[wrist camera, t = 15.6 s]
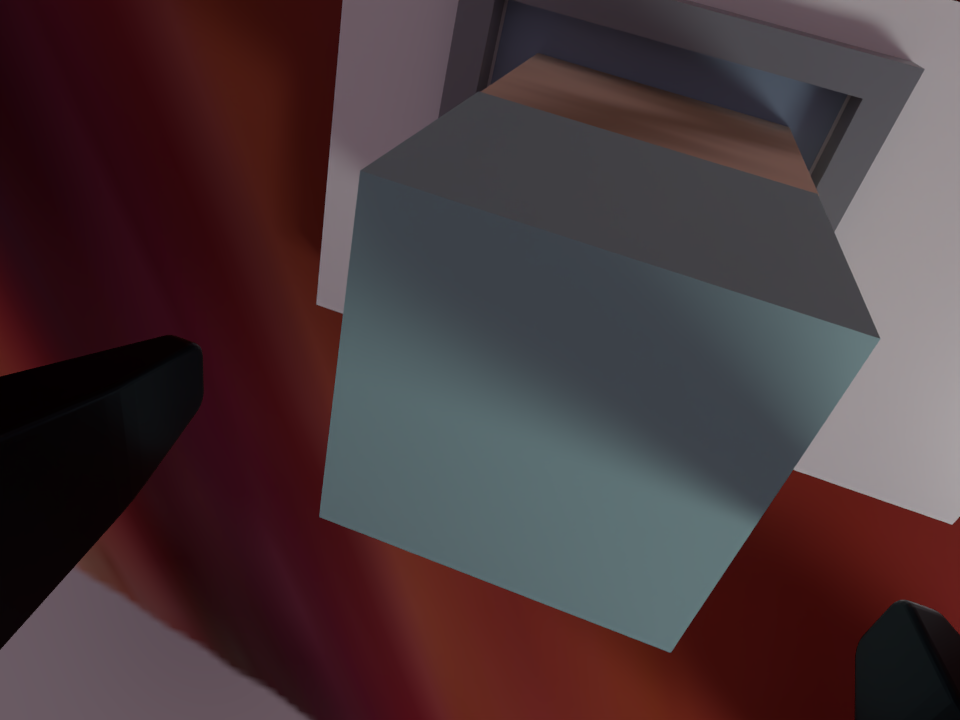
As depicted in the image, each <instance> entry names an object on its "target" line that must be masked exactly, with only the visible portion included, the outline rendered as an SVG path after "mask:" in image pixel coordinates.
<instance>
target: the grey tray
mask: <svg viewBox="0 0 960 720" xmlns="http://www.w3.org/2000/svg"><path fill="white" fill-rule="evenodd" d="M537 53H540V54H543V55H547V56H550V57H553V58H557V59H560V60H564V61H567V62H570V63H574V64H577V65H580V66H584V67H587V68H591V69H594V70H597V71H601V72H604V73H608V74H611V75H614V76H618V77H621V78H625V79H628V80H631V81H635V82H638V83H641V84H645V85H648V86H652V87H655V88H658V89H662V90H665V91H669V92H672V93H675V94H679V95H682V96H686V97H689V98H692V99H696V100H699V101H702V102H706V103H709V104H713V105H716V106H719V107H723V108H726V109H730V110H733V111H736V112H740V113H743V114H746V115H750V116H753V117H757V118H760V119H763V120H767V121H770V122H774V123H777V124H780V125H784V126H787V127H789V128H790V130H791V132H792V135H793V137H794V139H795V141H796V144H797V146H798V148H799V151H800V153H801V155H802V157H803V160H804V162H805V164H806V167H807V169H808V171H809V173H810V176H811V178H812V180H813V183H814V185H815V187H816V189H817V192H818V194H819V198H820V200H821V203H822V205H823V207H824V210H825V212H826V214H827V217H828V219H829V221H830V223H831V226H832V228H833V230H834V233H835V235H836V237H837V240H838V242H839V244H840V247H841V249H842V251H843V253H844V256H845V258H846V260H847V263H848V265H849V267H850V270H851V272H852V274H853V276H854V279H855V281H856V283H857V286H858V288H859V290H860V293H861V295H862V297H863V300H864V302H865V304H866V306H867V309H868V311H869V313H870V316H871V318H872V320H873V323H874V325H875V327H876V329H877V332H878V334H879V336H880V340H879V342H878V343H877V345H876V346H875V348H874V349H873V351H872V352H871V354H870V355H869V357H868V358H867V360H866V361H865V363H864V364H863V366H862V367H861V369H860V370H859V372H858V373H857V375H856V376H855V378H854V379H853V381H852V382H851V384H850V385H849V387H848V388H847V390H846V391H845V393H844V394H843V396H842V397H841V399H840V400H839V402H838V403H837V405H836V406H835V408H834V409H833V411H832V412H831V414H830V415H829V417H828V418H827V420H826V421H825V423H824V424H823V426H822V427H821V429H820V430H819V432H818V433H817V435H816V436H815V438H814V439H813V441H812V442H811V444H810V445H809V447H808V448H807V450H806V451H805V453H804V454H803V456H802V457H801V459H800V460H799V462H798V463H797V465H796V466H795V468H794V469H793V470H796V471H799V472H802V473H804V474H807V475H810V476H813V477H816V478H819V479H822V480H825V481H828V482H830V483H833V484H836V485H839V486H842V487H845V488H848V489H851V490H854V491H856V492H859V493H862V494H865V495H868V496H871V497H874V498H877V499H880V500H882V501H885V502H888V503H891V504H894V505H897V506H900V507H903V508H906V509H908V510H911V511H914V512H917V513H920V514H923V515H926V516H929V517H932V518H934V519H937V520H940V521H943V522H946V523H949V524H953V523H954V522H955V521H956V520H957V519H958V518H959V517H960V2H958V1H954V0H343V3H342V14H341V26H340V38H339V49H338V61H337V72H336V84H335V95H334V107H333V118H332V130H331V141H330V153H329V164H328V176H327V187H326V199H325V211H324V222H323V234H322V245H321V257H320V268H319V280H318V291H317V303H316V305H319V306H322V307H325V308H328V309H331V310H334V311H337V312H340V313H342V314H343V311H344V303H345V294H346V286H347V277H348V269H349V260H350V252H351V243H352V235H353V226H354V218H355V209H356V201H357V193H358V184H359V176H360V170H362V169H363V168H365V167H366V166H368V165H369V164H371V163H372V162H374V161H375V160H377V159H378V158H380V157H381V156H383V155H384V154H386V153H387V152H389V151H390V150H392V149H393V148H395V147H396V146H398V145H399V144H401V143H402V142H404V141H405V140H407V139H408V138H410V137H411V136H413V135H414V134H416V133H417V132H419V131H420V130H422V129H423V128H425V127H426V126H428V125H429V124H431V123H432V122H434V121H435V120H437V119H438V118H440V117H441V116H443V115H444V114H446V113H447V112H449V111H450V110H452V109H453V108H455V107H456V106H458V105H459V104H461V103H462V102H464V101H465V100H466V99H468V98H469V97H471V96H472V95H474V94H475V93H477V92H478V91H479V92H481V91H482V90H484V89H485V88H487V87H488V86H490V85H491V84H493V83H494V82H496V81H497V80H499V79H500V78H502V77H503V76H505V75H506V74H508V73H509V72H511V71H512V70H514V69H515V68H517V67H518V66H519V65H521V64H522V63H524V62H525V61H527V60H528V59H530V58H531V57H533V56H534V55H536V54H537Z"/></svg>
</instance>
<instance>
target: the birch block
mask: <svg viewBox="0 0 960 720" xmlns="http://www.w3.org/2000/svg"><path fill="white" fill-rule="evenodd" d="M481 92H483V93H486V94H489V95H493V96H496V97H499V98H502V99H506V100H509V101H512V102H516V103H519V104H522V105H526V106H529V107H532V108H535V109H539V110H542V111H545V112H549V113H552V114H555V115H559V116H562V117H565V118H568V119H572V120H575V121H578V122H582V123H585V124H588V125H592V126H595V127H598V128H601V129H605V130H608V131H611V132H615V133H618V134H621V135H625V136H628V137H631V138H635V139H638V140H641V141H644V142H648V143H651V144H654V145H658V146H661V147H664V148H668V149H671V150H674V151H677V152H681V153H684V154H687V155H691V156H694V157H697V158H701V159H704V160H707V161H710V162H714V163H717V164H720V165H724V166H727V167H730V168H734V169H737V170H740V171H743V172H747V173H750V174H753V175H757V176H760V177H763V178H767V179H770V180H773V181H776V182H780V183H783V184H786V185H790V186H793V187H796V188H800V189H803V190H806V191H809V192H813V193H816V194H818V192H817V189H816V187H815V185H814V183H813V180H812V178H811V176H810V173H809V171H808V169H807V167H806V164H805V162H804V160H803V157H802V155H801V153H800V151H799V148H798V146H797V144H796V141H795V139H794V137H793V135H792V132H791V130H790V128H789V127H787V126H784V125H780V124H777V123H774V122H770V121H767V120H763V119H760V118H757V117H753V116H750V115H746V114H743V113H740V112H736V111H733V110H730V109H726V108H723V107H719V106H716V105H713V104H709V103H706V102H702V101H699V100H696V99H692V98H689V97H686V96H682V95H679V94H675V93H672V92H669V91H665V90H662V89H658V88H655V87H652V86H648V85H645V84H641V83H638V82H635V81H631V80H628V79H625V78H621V77H618V76H614V75H611V74H608V73H604V72H601V71H597V70H594V69H591V68H587V67H584V66H580V65H577V64H574V63H570V62H567V61H564V60H560V59H557V58H553V57H550V56H547V55H543V54H540V53H537V54H536V55H534V56H533V57H531V58H530V59H528V60H527V61H525V62H524V63H522V64H521V65H519V66H518V67H517V68H515V69H514V70H512V71H511V72H509V73H508V74H506V75H505V76H503V77H502V78H500V79H499V80H497V81H496V82H494V83H493V84H491V85H490V86H488V87H487V88H485V89H484V90H482V91H481ZM818 196H819V194H818Z"/></svg>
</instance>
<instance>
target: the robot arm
mask: <svg viewBox="0 0 960 720" xmlns="http://www.w3.org/2000/svg"><path fill="white" fill-rule="evenodd" d="M203 394H204V384H203V354H202V350H201V348H200V346H199V345H197V344H196V343H194V342H191V341H188V340H186V339H183V338H180V337H177V336H173V335H166V336H161V337H157V338H153V339H149V340H145V341H141V342H137V343H133V344H129V345H125V346H121V347H117V348H113V349H109V350H105V351H101V352H97V353H93V354H89V355H85V356H81V357H77V358H73V359H69V360H65V361H61V362H57V363H53V364H49V365H45V366H41V367H37V368H33V369H29V370H25V371H21V372H17V373H13V374H9V375H5V376H1V377H0V649H1V648H2V647H3V646H4V645H5V644H6V643H7V641H8V640H9V639H10V638H11V637H12V636H13V635H14V633H16V631H17V630H18V629H19V628H20V627H21V626H22V625H23V624H24V622H25V621H26V620H27V619H28V618H29V617H30V615H32V613H33V612H34V611H35V610H36V609H37V608H38V607H39V606H40V604H41V603H42V602H43V601H44V600H45V599H46V598H47V596H49V594H50V593H51V592H52V591H53V590H54V589H55V588H56V587H57V585H58V584H59V583H60V582H61V581H62V580H63V579H64V578H65V576H66V575H67V574H68V573H69V572H70V571H71V570H72V569H73V568H74V566H75V565H76V564H77V563H78V562H79V561H80V560H81V559H82V557H83V556H84V555H85V554H86V553H87V552H88V551H89V550H90V548H91V547H92V546H93V545H94V544H95V543H96V542H97V541H98V540H99V538H100V537H101V536H102V535H103V534H104V533H105V532H106V531H107V529H108V528H109V527H110V526H111V525H112V524H113V523H114V522H115V520H116V519H117V518H118V517H119V516H120V515H121V514H122V512H123V511H124V510H125V509H126V508H127V507H128V505H129V504H130V503H131V502H132V501H133V499H134V498H135V497H136V496H137V494H138V493H139V492H140V490H141V489H142V488H143V486H144V485H145V484H146V482H147V481H148V479H149V478H150V477H151V475H152V474H153V472H154V471H155V470H156V468H157V467H158V465H159V464H160V463H161V461H162V460H163V459H164V457H165V456H166V454H167V453H168V452H169V450H170V449H171V447H172V446H173V445H174V443H175V442H176V440H177V439H178V438H179V436H180V435H181V433H182V432H183V431H184V429H185V428H186V426H187V425H188V424H189V422H190V421H191V419H192V418H193V417H194V415H195V414H196V412H197V411H198V409H199V407H200V405H201V403H202V400H203ZM855 720H960V635H959V634H958V633H957V631H956V630H955V629H954V628H953V627H952V626H951V624H950V623H949V622H948V621H947V620H946V619H945V618H944V616H943V615H941V614H940V613H939V612H937V611H935V610H933V609H930V608H928V607H925V606H922V605H919V604H916V603H914V602H911V601H908V600H899V601H897V602H894V603H893V604H892V605H891V606H890V607H889V608H888V609H887V610H886V611H885V612H884V614H883V615H882V616H881V617H880V618H879V619H878V620H877V621H876V622H875V623H874V624H873V625H872V626H871V628H870V629H869V630H868V631H867V632H866V633H865V634H864V635H863V636H862V638H861V639H860V641H859V643H858V646H857V650H856V655H855Z"/></svg>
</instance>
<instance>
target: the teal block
mask: <svg viewBox="0 0 960 720" xmlns="http://www.w3.org/2000/svg"><path fill="white" fill-rule="evenodd" d="M879 340H880V336H879V334H878V332H877V329H876V327H875V325H874V323H873V320H872V318H871V316H870V313H869V311H868V309H867V306H866V304H865V302H864V300H863V297H862V295H861V293H860V290H859V288H858V286H857V283H856V281H855V279H854V276H853V274H852V272H851V270H850V267H849V265H848V263H847V260H846V258H845V256H844V253H843V251H842V249H841V247H840V244H839V242H838V240H837V237H836V235H835V233H834V230H833V228H832V226H831V223H830V221H829V219H828V217H827V214H826V212H825V210H824V207H823V205H822V203H821V200H820V198H819V196H818V194H816V193H813V192H809V191H806V190H803V189H800V188H796V187H793V186H790V185H786V184H783V183H780V182H776V181H773V180H770V179H767V178H763V177H760V176H757V175H753V174H750V173H747V172H743V171H740V170H737V169H734V168H730V167H727V166H724V165H720V164H717V163H714V162H710V161H707V160H704V159H701V158H697V157H694V156H691V155H687V154H684V153H681V152H677V151H674V150H671V149H668V148H664V147H661V146H658V145H654V144H651V143H648V142H644V141H641V140H638V139H635V138H631V137H628V136H625V135H621V134H618V133H615V132H611V131H608V130H605V129H601V128H598V127H595V126H592V125H588V124H585V123H582V122H578V121H575V120H572V119H568V118H565V117H562V116H559V115H555V114H552V113H549V112H545V111H542V110H539V109H535V108H532V107H529V106H526V105H522V104H519V103H516V102H512V101H509V100H506V99H502V98H499V97H496V96H493V95H489V94H486V93H483V92H479V91H478V92H477V93H475V94H474V95H472V96H471V97H469V98H468V99H466V100H465V101H464V102H462V103H461V104H459V105H458V106H456V107H455V108H453V109H452V110H450V111H449V112H447V113H446V114H444V115H443V116H441V117H440V118H438V119H437V120H435V121H434V122H432V123H431V124H429V125H428V126H426V127H425V128H423V129H422V130H420V131H419V132H417V133H416V134H414V135H413V136H411V137H410V138H408V139H407V140H405V141H404V142H402V143H401V144H399V145H398V146H396V147H395V148H393V149H392V150H390V151H389V152H387V153H386V154H384V155H383V156H381V157H380V158H378V159H377V160H375V161H374V162H372V163H371V164H369V165H368V166H366V167H365V168H363V169H362V170H360V176H359V184H358V193H357V201H356V209H355V218H354V226H353V235H352V243H351V252H350V260H349V269H348V277H347V286H346V294H345V303H344V311H343V320H342V328H341V337H340V345H339V354H338V362H337V370H336V379H335V387H334V396H333V404H332V413H331V421H330V430H329V438H328V447H327V455H326V464H325V472H324V481H323V489H322V498H321V506H320V515H319V517H321V518H324V519H326V520H329V521H331V522H334V523H337V524H339V525H342V526H344V527H347V528H349V529H352V530H355V531H357V532H360V533H362V534H365V535H368V536H370V537H373V538H375V539H378V540H380V541H383V542H386V543H388V544H391V545H393V546H396V547H399V548H401V549H404V550H406V551H409V552H411V553H414V554H417V555H419V556H422V557H424V558H427V559H430V560H432V561H435V562H437V563H440V564H442V565H445V566H448V567H450V568H453V569H455V570H458V571H461V572H463V573H466V574H468V575H471V576H473V577H476V578H479V579H481V580H484V581H486V582H489V583H492V584H494V585H497V586H499V587H502V588H504V589H507V590H510V591H512V592H515V593H517V594H520V595H523V596H525V597H528V598H530V599H533V600H535V601H538V602H541V603H543V604H546V605H548V606H551V607H554V608H556V609H559V610H561V611H564V612H566V613H569V614H572V615H574V616H577V617H579V618H582V619H585V620H587V621H590V622H592V623H595V624H597V625H600V626H603V627H605V628H608V629H610V630H613V631H616V632H618V633H621V634H623V635H626V636H628V637H631V638H634V639H636V640H639V641H641V642H644V643H647V644H649V645H652V646H654V647H657V648H659V649H662V650H665V651H667V652H670V653H671V652H672V650H673V649H674V647H675V646H676V644H677V643H678V641H679V640H680V638H681V637H682V635H683V634H684V632H685V631H686V629H687V628H688V626H689V625H690V623H691V622H692V620H693V619H694V617H695V616H696V614H697V613H698V611H699V610H700V608H701V607H702V605H703V604H704V602H705V601H706V599H707V598H708V596H709V595H710V593H711V592H712V590H713V589H714V587H715V586H716V584H717V583H718V581H719V580H720V578H721V577H722V575H723V574H724V572H725V571H726V569H727V568H728V566H729V565H730V563H731V562H732V560H733V559H734V557H735V556H736V554H737V553H738V551H739V550H740V548H741V547H742V545H743V544H744V542H745V541H746V539H747V538H748V536H749V535H750V533H751V532H752V530H753V529H754V527H755V526H756V524H757V523H758V521H759V520H760V518H761V517H762V515H763V514H764V512H765V511H766V509H767V508H768V506H769V505H770V503H771V502H772V500H773V499H774V498H775V496H776V495H777V493H778V492H779V490H780V489H781V487H782V486H783V484H784V483H785V481H786V480H787V478H788V477H789V475H790V474H791V472H792V471H793V469H794V468H795V466H796V465H797V463H798V462H799V460H800V459H801V457H802V456H803V454H804V453H805V451H806V450H807V448H808V447H809V445H810V444H811V442H812V441H813V439H814V438H815V436H816V435H817V433H818V432H819V430H820V429H821V427H822V426H823V424H824V423H825V421H826V420H827V418H828V417H829V415H830V414H831V412H832V411H833V409H834V408H835V406H836V405H837V403H838V402H839V400H840V399H841V397H842V396H843V394H844V393H845V391H846V390H847V388H848V387H849V385H850V384H851V382H852V381H853V379H854V378H855V376H856V375H857V373H858V372H859V370H860V369H861V367H862V366H863V364H864V363H865V361H866V360H867V358H868V357H869V355H870V354H871V352H872V351H873V349H874V348H875V346H876V345H877V343H878V342H879Z"/></svg>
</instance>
